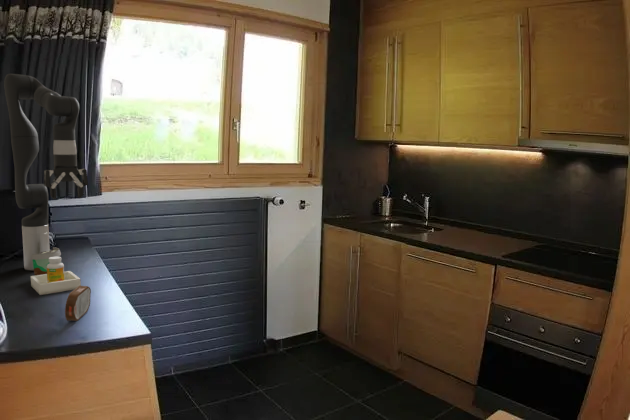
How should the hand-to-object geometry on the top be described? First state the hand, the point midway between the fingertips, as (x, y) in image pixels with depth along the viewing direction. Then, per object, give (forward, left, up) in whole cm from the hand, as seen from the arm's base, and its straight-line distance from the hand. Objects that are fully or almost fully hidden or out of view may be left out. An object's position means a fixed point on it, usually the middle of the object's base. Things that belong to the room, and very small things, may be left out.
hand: (67, 198), depth 194 cm
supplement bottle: (+8, -7, -30) cm, 31 cm away
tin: (+43, -9, -30) cm, 53 cm away
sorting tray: (+8, -7, -30) cm, 32 cm away
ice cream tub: (-7, -5, -30) cm, 31 cm away
